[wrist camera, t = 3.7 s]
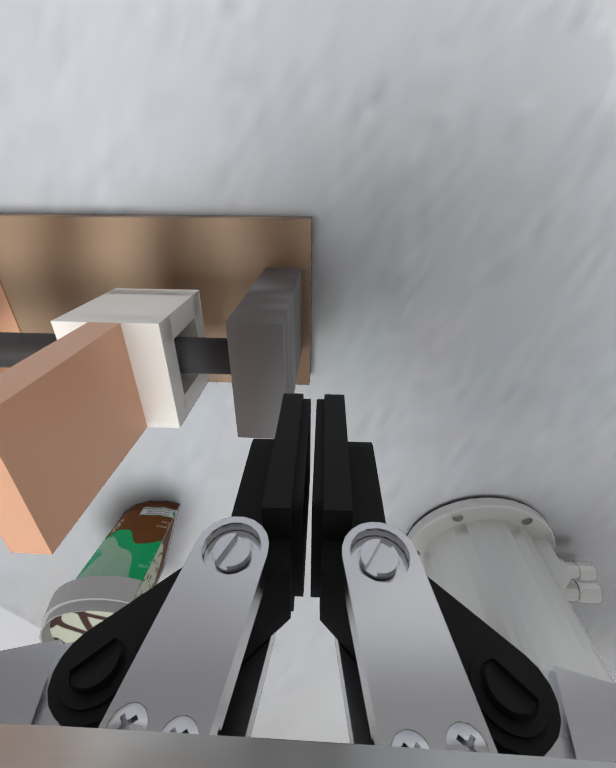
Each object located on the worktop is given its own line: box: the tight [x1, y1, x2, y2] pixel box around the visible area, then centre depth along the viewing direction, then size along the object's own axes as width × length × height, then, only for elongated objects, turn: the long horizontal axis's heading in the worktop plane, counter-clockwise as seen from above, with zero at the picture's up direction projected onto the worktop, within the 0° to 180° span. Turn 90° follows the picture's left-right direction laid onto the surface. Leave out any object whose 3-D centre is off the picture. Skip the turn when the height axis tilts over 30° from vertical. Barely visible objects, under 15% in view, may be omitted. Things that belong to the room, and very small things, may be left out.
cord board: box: [0, 214, 312, 439], centre depth 19 cm, size 28×10×12 cm, turn 90°
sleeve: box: [0, 288, 211, 555], centre depth 14 cm, size 4×5×11 cm
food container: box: [40, 501, 180, 644], centre depth 30 cm, size 12×6×10 cm, turn 161°
